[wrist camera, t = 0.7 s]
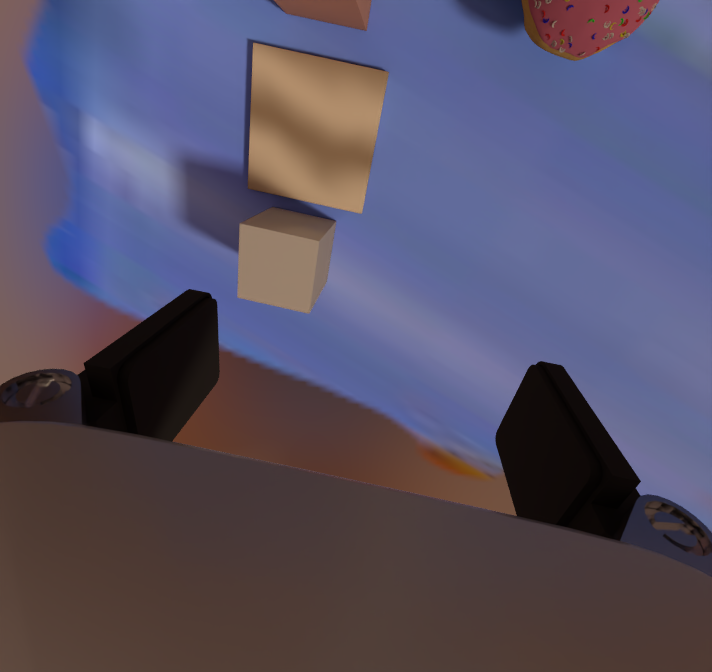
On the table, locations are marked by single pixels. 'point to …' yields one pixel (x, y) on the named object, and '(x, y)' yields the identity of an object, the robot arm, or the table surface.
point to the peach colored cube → (330, 11)
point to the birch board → (313, 127)
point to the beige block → (284, 258)
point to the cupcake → (582, 24)
